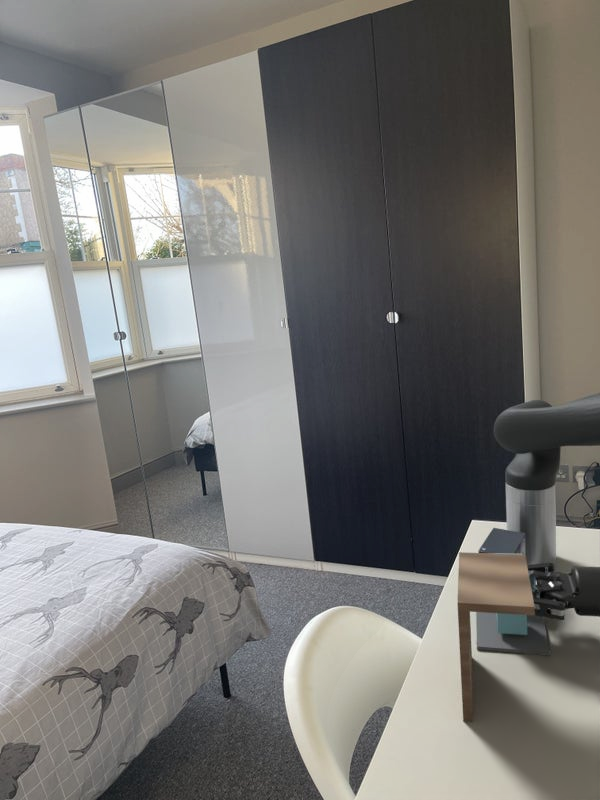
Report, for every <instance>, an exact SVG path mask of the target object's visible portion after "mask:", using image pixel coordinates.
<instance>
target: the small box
mask: <svg viewBox="0 0 600 800" xmlns="http://www.w3.org/2000/svg"><path fill="white" fill-rule="evenodd" d="M477 551H478V552H477V553H507V554H525V533H522V532H516V531H509V530H507V529H504V528H498V527H493V528H492V529H491V531H490V532H489V534H488V535H487V537H486V538H485V539H484V541H483V543H482V545H481V546H480V547H479V548H478V550H477Z"/></svg>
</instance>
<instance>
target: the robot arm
mask: <svg viewBox="0 0 600 800" xmlns="http://www.w3.org/2000/svg"><path fill="white" fill-rule="evenodd" d="M493 437H494V438H495V440H496V441H497V443H498V444H499V445H500V446H501V447H502V448H504V450H506V451H508V452H511V453H514V454H515V455H514V458H513V459H512V460H511V462H510V463H509V464H508V465H507V467H506V468H505V473H504V474H505V475H504V476H505V478H504V480H505V509H506V530H509V531H516V532H522V533H525V556H526V562H527V568H528V573H529V579H530V584H531V590H532V595H533V601H534V606H535V615H536V616H541V617H543V618H547V619H552V620H558V621H564V620H565V619H566V618H565V617H566V610H569V609H573V610H574V612H575V614H576V615H577V616H582V617H600V566H581V565H577V566H576V565H575V566H573V567H572V568H571V570H570V572H569V573H565V572H560V571H556V570H555V567H556V566H557V526H556V524H557V514H556V513H557V512H556V509H557V508H556V503H557V502H556V499H557V497H556V476H557V474H558V472H559V468H560V467H561V466H560V464H561V450H562V449H561V448H562V447H593V446H594V447H598V446H599V447H600V392H598V393H595V394H592V395H591V394H590V395H587V396H584V397H581V398H578V399H575V400H571V401H569V402H566V403H565V402H564V403H562V404H559V405H554V406H553V405H552V404H550V403H549V402H548V401H545V400H541V399H533V400H529V401H526V402H523V403H520V404H516V405H513V406H510V407H508V408H507V409H505V410H503V411H502V412H500V414H499V415H498V416H497V417H496V420H495V421H494V425H493Z"/></svg>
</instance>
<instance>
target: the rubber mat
mask: <svg viewBox="0 0 600 800" xmlns="http://www.w3.org/2000/svg"><path fill="white" fill-rule="evenodd" d="M475 613H476V614H475V618H476V619H475V621H476V622H475V623H476V650H477V651H489V652H499V653H500V652H504V653H514V654H526V655H527V654H528V655H529V654H530V655H540V656H541V655H542V656H543V655H544V656H550V655H551V650H550V645H549V641H548V635H547V631H546V626H545V620H544V617H541V616H536V615H527V635H520V634H503V633H498V626H497V613H485V612H475Z"/></svg>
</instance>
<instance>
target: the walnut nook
mask: <svg viewBox="0 0 600 800" xmlns="http://www.w3.org/2000/svg"><path fill="white" fill-rule="evenodd" d="M457 575H458V576H457V577H458V580H457V618H458V619H457V620H458V621H457V622H458V623H457V624H458V640H459V641H458V643H459V660H460V661H459V663H460V677H461V678H460V679H461V680H460V683H461V698H462V699H461V700H462V705H461V706H462V721H463V722H469V723H473V654H472V653H473V651H472V649H473V648H472V630H471V628H472V627H471V613H472V612H473V613H476V612H485V613H502V614H519V615H535V608H536V607H535V606H534V601H533V595H532V590H531V584H530V579H529V573H528V568H527V562H526V556H525V554H495V553H478V552H465V551H464V552H459V553H458V574H457Z"/></svg>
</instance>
